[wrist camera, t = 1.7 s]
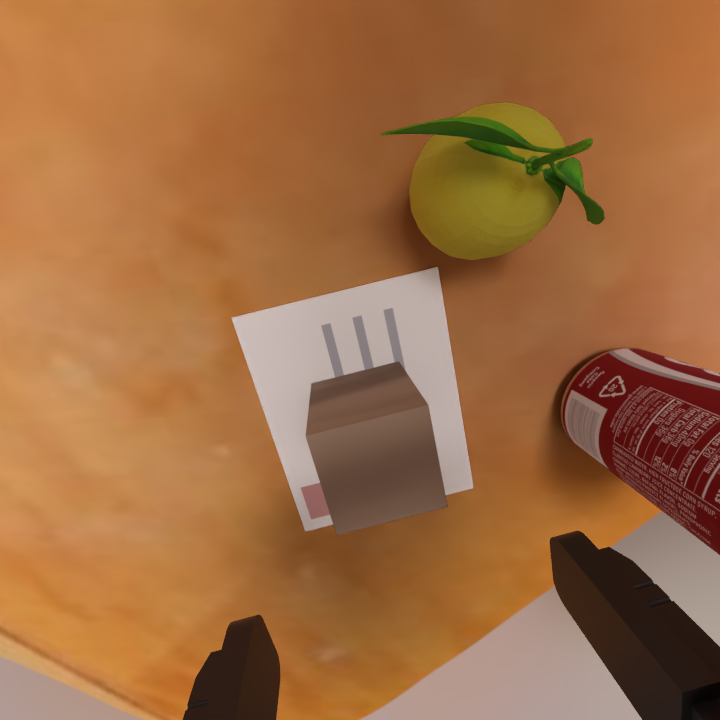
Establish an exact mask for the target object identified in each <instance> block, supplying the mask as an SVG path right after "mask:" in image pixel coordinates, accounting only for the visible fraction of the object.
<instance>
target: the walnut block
mask: <svg viewBox="0 0 720 720" xmlns="http://www.w3.org/2000/svg"><path fill="white" fill-rule="evenodd" d="M306 439H307V443H308V446H309V449H310V452H311V455H312V459H313V462H314V465H315V468H316V471H317V474H318V478H319V481H320V484H321V487H322V490H323V493H324V497H325V500H326V503H327V506H328V509H329V513H330V516H331V519H332V522H333V525H334V528H335V532H336V535H341V534H345V533H349V532H353V531H356V530H360V529H364V528H368V527H372V526H376V525H380V524H383V523H387V522H391V521H395V520H399V519H403V518H406V517H410V516H414V515H418V514H422V513H426V512H430V511H433V510H437V509H441V508H445V507H448V505H447V500H446V495H445V490H444V484H443V479H442V474H441V469H440V463H439V458H438V453H437V448H436V442H435V437H434V432H433V427H432V421H431V416H430V411H429V406H428V404H427V402H426V401H425V399H424V398H423V396H422V395H421V393H420V392H419V390H418V389H417V387H416V386H415V384H414V383H413V381H412V380H411V378H410V377H409V375H408V374H407V372H406V371H405V370H404V368H403V367H402V365H401V364H400V362H399V361H398V362H394V363H390V364H386V365H382V366H379V367H375V368H371V369H367V370H363V371H359V372H355V373H351V374H347V375H343V376H339V377H335V378H331V379H327V380H323V381H319V382H315V383H311V392H310V401H309V409H308V418H307V427H306Z"/></svg>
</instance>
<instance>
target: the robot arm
mask: <svg viewBox="0 0 720 720" xmlns="http://www.w3.org/2000/svg"><path fill="white" fill-rule="evenodd" d="M550 550H551V560H552V571H553V580H554V584H555V587H556V590H557V592H558V594H559V597H560V599H561V601H562V602H563V604H564V606H565V607H566V609H567V610H568V612H569V613H570V614H571V616H572V618H573V619H574V620H575V622H576V623H577V625H578V626H579V628H580V629H581V631H582V632H583V634H584V635H585V637H586V638H587V639H588V641H589V642H590V644H591V645H592V647H593V648H594V650H595V651H596V653H597V654H598V656H599V657H600V658H601V660H602V661H603V663H604V664H605V666H606V667H607V669H608V670H609V672H610V673H611V674H612V676H613V677H614V679H615V680H616V682H617V683H618V685H619V686H620V687H621V689H622V690H623V692H624V693H625V695H626V696H627V698H628V699H629V701H630V702H631V704H632V705H633V707H634V708H635V710H636V711H637V712H638V714H639V715H640V717H641V718H642V720H720V647H719V646H718V645H717V644H716V643H715V642H714V641H713V640H712V639H711V638H710V637H709V636H708V635H707V634H706V633H705V632H704V631H703V630H702V629H701V628H700V627H699V626H698V625H697V624H696V623H695V622H694V621H693V620H692V619H691V618H690V617H689V616H688V615H687V614H686V613H685V612H684V611H683V610H682V609H681V608H680V607H679V606H678V605H677V604H676V603H675V602H674V601H671V600H670V598H669V596H668V595H667V594H666V593H665V592H664V591H663V590H662V589H661V588H660V587H659V586H658V585H657V584H654V583H653V581H652V579H651V578H650V577H648V575H646V573H644V572H643V571H642V570H641V569H640V568H639V567H638V566H637V565H636V564H635V563H634V562H633V561H632V560H630V559H629V558H627V557H625V556H623V555H622V554H620V553H618V552H617V551H615V550H613V549H612V548H610V547H607V548H603V549H598V548H597V547H596V546H595V545H594V544H593V543H592V542H591V541H590V540H589V539H588V538H587V537H586V536H585V535H584V534H583V533H582V532H580V531H575V532H571V533H567V534H563V535H560V536H556V537H552V538H551V539H550ZM279 687H280V663H279V657H278V654H277V651H276V649H275V646H274V644H273V641H272V639H271V637H270V634H269V632H268V630H267V627H266V625H265V623H264V620H263V618H262V617H261V615H256V616H252V617H248V618H245V619H241V620H237V621H233V622H231V623H230V624H229V626H228V628H227V631H226V635H225V639H224V643H223V647H222V650H219V651H215V652H211V653H210V655H209V657H208V658H207V660H206V662H205V663H204V665H203V667H202V668H201V670H200V672H199V673H198V675H197V677H196V679H195V682H194V685H193V689H192V692H191V695H190V698H189V701H188V709H187V710H186V711H185V714H184V718H183V720H276V715H277V706H278V696H279Z"/></svg>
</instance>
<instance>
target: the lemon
mask: <svg viewBox="0 0 720 720" xmlns="http://www.w3.org/2000/svg"><path fill="white" fill-rule="evenodd" d="M386 134H434V135H433V136H432V137H431V138H430V139H429V140H428V141H427V142H426V143H425V145H424V147H423V148H422V150H421V153H420V155H419V157H418V159H417V161H416V163H415V166H414V168H413V172H412V177H411V183H410V188H409V197H410V205H411V213H412V215H413V217H414V219H415V221H416V223H417V225H418V228H419V230H420V231H421V232H422V233H423V235H424V236H425V237H426V238H427V239H428V240H429V242H430V243H431V244H432V245H433V246H435V247H436V248H438V249H439V250H441V251H442V252H444V253H445V254H447V255H449V256H451V257H457V258H462V259H467V260H477V259H483V258H490V257H496V256H501V255H503V254H506V253H508V252H510V251H512V250H514V249H516V248H518V247H520V246H522V245H524V244H526V243H527V242H529V241H531V240H532V239H533V238H534V237H535V236H536V235H537V234H538V233H539V232H540V231H541V230H542V229H543V228H544V227H545V226H546V225H547V224H548V223H549V221H550V220H551V218H552V216H553V215H554V213H555V211H556V210H557V208H558V206H559V205H560V203H561V201H562V197H563V193H564V190H565V186H566V185H567V186H568V187H570V188H571V189H572V190H573V191H574V192H575V193H576V195H577V196H578V197H579V199H580V200H581V202H582V204H583V206H584V208H585V211H586V215H587V220H588V221H590V222H591V223H593V224H600V223H601V222H602V221H603V220H604V211H603V209H602V208H601V207H600V206H599V205H598V204H597V203H596V202H595V201H593V200H592V199H591V198H590V197H588V196H587V195H586V194H585V192H584V185H583V173H582V168H581V164H580V162H579V161H578V160H577V159H575V158H568V157H569V156H572V155H574V154H577V153H579V152H582V151H584V150H587V149H588V148H589V147H591V145H592V143H593V139H591V138H588V139H585V140H583V141H581V142H578V143H576V144H574V145H571V146H567V147H565V144H564V140H563V138H562V136H561V135H560V134H559V132H558V131H557V130H556V128H555V127H554V126H553V124H552V123H551V121H550V120H548V119H547V118H545V117H544V116H543V115H541V114H540V113H539V112H537V111H536V110H534V109H532V108H530V107H526V106H522V105H518V104H514V103H510V102H500V103H492V104H484V105H479V106H476V107H473V108H471V109H470V110H468V111H466V112H464V113H462V114H460V115H458V116H456V117H454V118H446V119H441V120H436V121H431V122H426V123H421V124H416V125H413V126H408V127H404V128H400V129H397V130H392V131H386V132H383V133H381V135H386Z"/></svg>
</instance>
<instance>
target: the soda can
mask: <svg viewBox="0 0 720 720" xmlns="http://www.w3.org/2000/svg"><path fill="white" fill-rule="evenodd" d="M561 421H562V425H563V428H564V431H565V433H566V434H567V436H568V437H569V438H570V440H571V441H572V442H573V443H574V444H576V445H577V446H578V447H580V448H581V449H582V450H584V451H585V452H586V453H587V454H589V455H590V456H591V457H593V458H594V459H595V460H597V461H598V462H599V463H601V464H602V465H603V466H604V467H606V468H607V469H608V470H610V471H611V472H612V473H614V474H615V475H616V476H617V477H619V478H620V479H621V480H623V481H624V482H625V483H627V484H628V485H629V486H631V487H632V488H633V489H634V490H636V491H637V492H638V493H640V494H641V495H642V496H644V497H645V498H646V499H647V500H649V501H650V502H651V503H653V504H654V505H655V506H657V507H658V508H659V509H661V510H662V511H663V512H664V513H666V514H667V515H668V516H670V517H671V518H672V519H674V520H675V521H676V522H677V523H679V524H680V525H681V526H683V527H684V528H685V529H687V530H688V531H689V532H690V533H692V534H693V535H695V536H696V537H697V538H698V539H700V540H701V541H702V542H704V543H705V544H706V545H707V546H709V547H710V548H711V549H713V550H714V551H715V552H717V553H718V554H719V555H720V373H717V372H713V371H710V370H707V369H703V368H700V367H697V366H694V365H690V364H687V363H684V362H681V361H677V360H674V359H671V358H667V357H664V356H661V355H658V354H654V353H651V352H648V351H645V350H641V349H636V348H620V349H614V350H611V351H608V352H605V353H603V354H601V355H599V356H597V357H595V358H593V359H592V360H590V361H589V362H588V363H586V364H585V365H584V366H583V367H582V368H581V369H580V370H579V371H578V372H577V373H576V374H575V376H574V377H573V378H572V380H571V381H570V383H569V384H568V386H567V388H566V390H565V393H564V396H563V399H562V403H561Z"/></svg>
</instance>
